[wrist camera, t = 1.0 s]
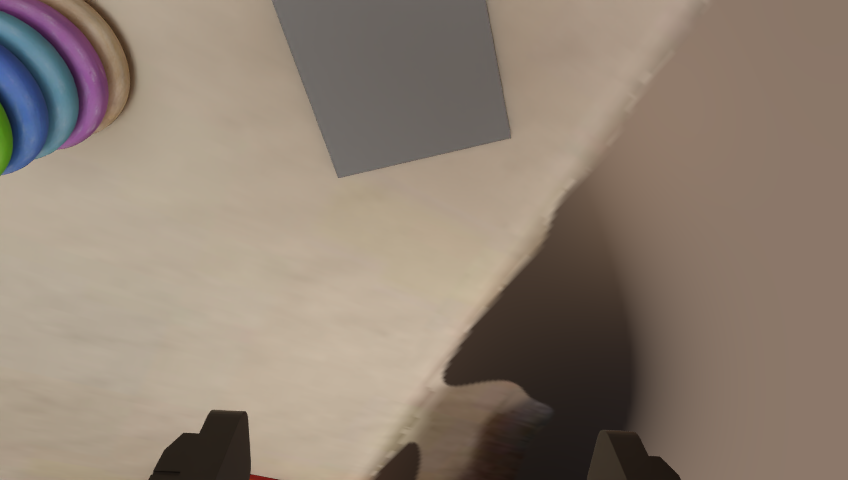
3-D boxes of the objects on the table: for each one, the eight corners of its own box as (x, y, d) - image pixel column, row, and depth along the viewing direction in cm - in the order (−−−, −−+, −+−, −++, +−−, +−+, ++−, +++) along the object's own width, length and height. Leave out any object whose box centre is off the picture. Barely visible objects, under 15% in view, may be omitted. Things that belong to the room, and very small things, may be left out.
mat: (272, -5, 28) (270, -3, 28) (473, -62, 27) (474, -61, 26) (339, 175, 33) (338, 178, 33) (510, 135, 32) (511, 138, 32)
